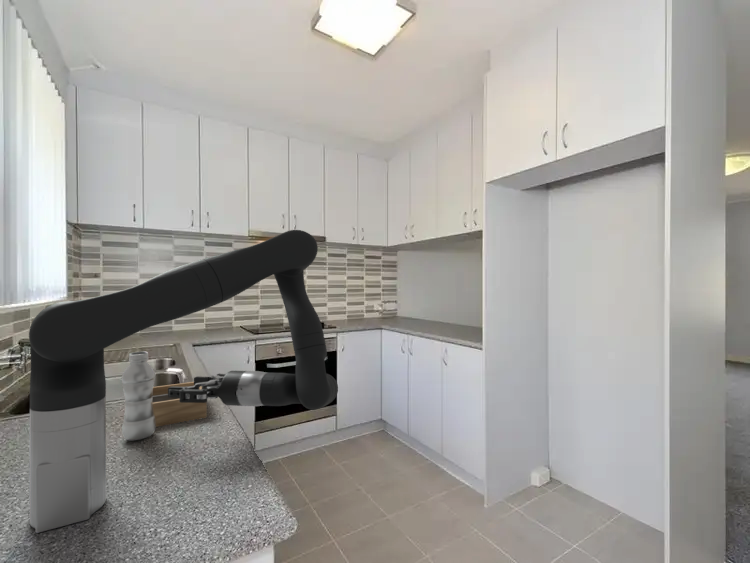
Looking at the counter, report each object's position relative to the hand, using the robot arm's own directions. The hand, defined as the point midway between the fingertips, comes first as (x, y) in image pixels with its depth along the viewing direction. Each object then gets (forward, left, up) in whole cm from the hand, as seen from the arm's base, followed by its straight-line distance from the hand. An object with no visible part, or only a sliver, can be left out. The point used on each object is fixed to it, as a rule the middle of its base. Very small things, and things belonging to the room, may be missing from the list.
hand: (182, 386), depth 83 cm
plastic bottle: (+7, +9, -13) cm, 17 cm away
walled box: (+22, +3, -12) cm, 26 cm away
